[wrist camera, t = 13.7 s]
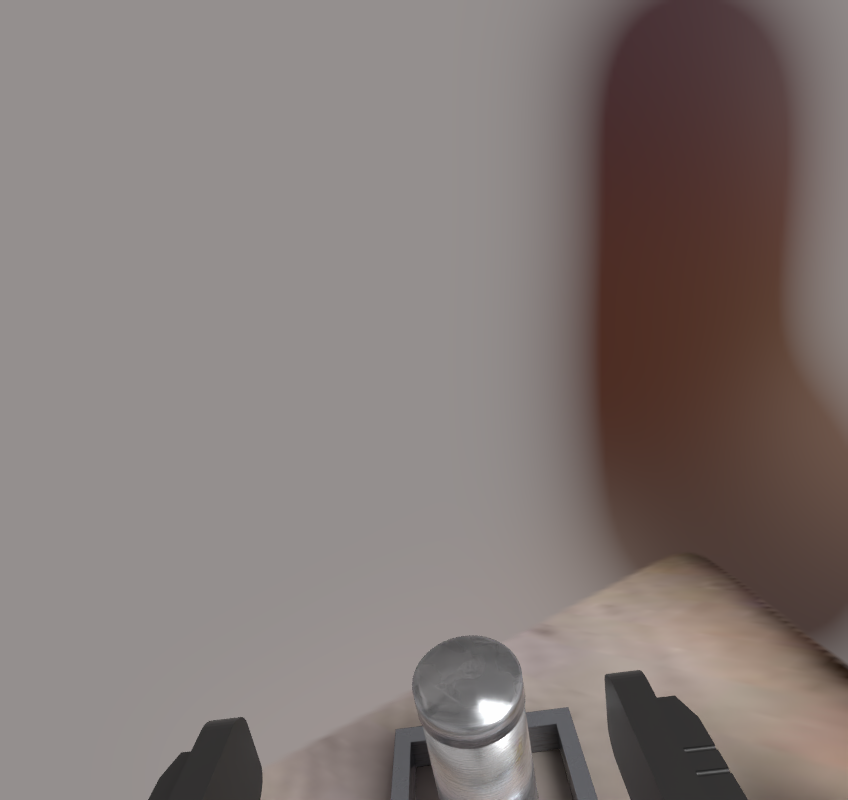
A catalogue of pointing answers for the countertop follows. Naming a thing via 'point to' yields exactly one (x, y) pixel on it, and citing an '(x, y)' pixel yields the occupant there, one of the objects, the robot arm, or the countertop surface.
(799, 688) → the countertop surface
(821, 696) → the countertop surface
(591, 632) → the countertop surface
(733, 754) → the countertop surface
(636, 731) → the robot arm
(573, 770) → the collar
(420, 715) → the lidded metal canister
